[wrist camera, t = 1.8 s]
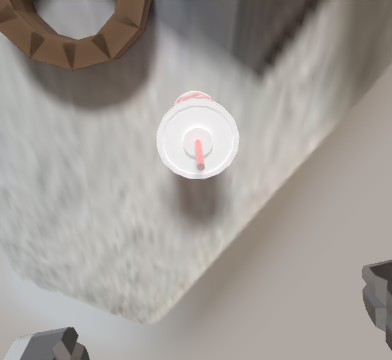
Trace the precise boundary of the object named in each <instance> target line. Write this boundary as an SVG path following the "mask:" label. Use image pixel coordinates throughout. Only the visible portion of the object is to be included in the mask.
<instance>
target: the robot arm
mask: <svg viewBox="0 0 392 360" xmlns="http://www.w3.org/2000/svg"><path fill="white" fill-rule="evenodd" d="M362 278H363V279H364V281H365V282H366V283H367V285H366V286H365V287H364V289H363V301H364V304H365V307H366V310H367V312H368V314H369V316H370V318H371V320H372V321H373V323H374V325H375V326H376V327H378V328H379V329H381V330H383V331H385V332H386V342H387V344H388V346H389V347H390V349H391V350H392V260H388V261H384V262H379V263H375V264H370V265H365V266H364V267H363V269H362ZM77 338H78V334H77V332H76V331H75V329H74V328H73V327H72V328H71V327H67V328H61V329H56V330H50V331H45V332H39V333H36V334H30V335H24V336H20V337H19V338H17V339H16V340H15V341H14V343H13V344H12V346H11V348H10V349H9V351H8V353H7V355H6V356H5V358H4V360H90V359H89V355H88V352H87V350H86V348H85V346H83V345H81V344H80V343H78V342H76V341H77Z"/></svg>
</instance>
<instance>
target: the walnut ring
mask: <svg viewBox="0 0 392 360" xmlns="http://www.w3.org/2000/svg"><path fill="white" fill-rule="evenodd" d="M150 4H151V0H117V2H116V8H115V13H114V14H113V15H112V16H111V18H110V19H109V20H108V21H107V22H106V24H105V25H104V26H103V27H102V28H101V30H100V31H99V32H98V33H97V34H96V35H94V36H90V37H87V38H83V39H80V40H76V39H73V38H69V37H66V36H63V35H59V34H57V33H56V32H55V31H54V30H53V29H52V28H51V27H50V26H49V25H48V24H47V23H46V22H45V21H44V20H43V19H42V18H41V17H40V16H39V15H38V14H37V13H36V11H35V8H34V6H33V3H32V1H31V0H0V32H1V33H3V34H4V35H5V36H6V37H7V38H8V39H9V40H10V41H11V42H13V43H14V44H15V45H16V46H17V47H18V48H19V49H20V50H21V51H23V52H24V53H25V54H26V55H27V56H28V57H29V58H31V59H35V60H38V61H42V62H45V63H49V64H52V65H55V66H59V67H62V68H66V69H69V70H76V69H80V68H83V67H87V66H90V65H94V64H98V63H102V62H105V61H109V60H113V59H117V58H120V57H121V56H122V55H123V54H124V53H125V52H126V51H127V49H128V48H129V47H130V46H131V45H132V44H133V43H134V42H135V40H136V39H137V38H138V37H139V36H140V35H141V34H142V33H143V31H144V30H145V28H146V23H147V18H148V14H149V9H150Z"/></svg>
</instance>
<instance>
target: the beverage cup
mask: <svg viewBox="0 0 392 360" xmlns="http://www.w3.org/2000/svg"><path fill="white" fill-rule="evenodd" d="M238 142H239V132H238V129H237V126H236V123H235V120H234V118H233V117H232V116H231V115H230V114H229V113H228V112H227V111H226V109H225V108H224V107H223V106H222V105H220V104H218V103H215V102H214V101H213V100H212V99H211V97H210V96H209V95H207V94H205V93H203V92H200V91H190V92H187V93H185V94H182V95H181V96H180V97H179V98H178V99H177V100H176V101H175V103H174V105H173V107H172V108H171V109H170V110H169V111H168V112H167V113H166V114H165V115H164V117H163V119H162V121H161V123H160V126H159V128H158V131H157V149H158V151H159V154H160V156H161V158H162V160H163V162H164V163H165V164H166V165H167V166H168V167H169V168H170V169H171V170H172V171H173V172H174V173H176V174H179V175H181V176H184V177H186V178H189V179H205V178H208V177H211V176H214V175H217V174H219V173H220V172H221V171H223V170H224V169H225V168H226V167H227V166H228V165H230V164H231V162H232V160H233V158H234V156H235V154H236V153H237V151H238Z"/></svg>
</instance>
